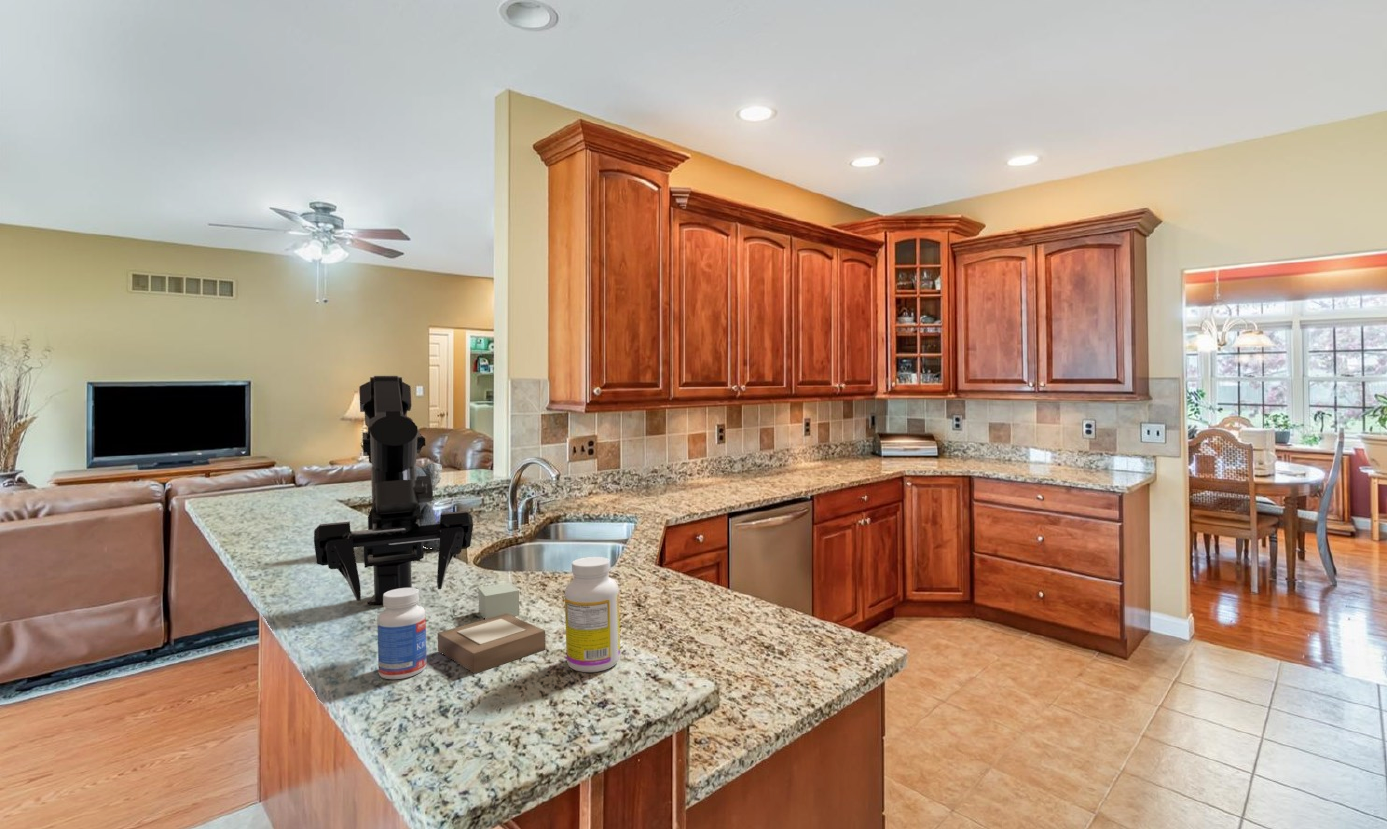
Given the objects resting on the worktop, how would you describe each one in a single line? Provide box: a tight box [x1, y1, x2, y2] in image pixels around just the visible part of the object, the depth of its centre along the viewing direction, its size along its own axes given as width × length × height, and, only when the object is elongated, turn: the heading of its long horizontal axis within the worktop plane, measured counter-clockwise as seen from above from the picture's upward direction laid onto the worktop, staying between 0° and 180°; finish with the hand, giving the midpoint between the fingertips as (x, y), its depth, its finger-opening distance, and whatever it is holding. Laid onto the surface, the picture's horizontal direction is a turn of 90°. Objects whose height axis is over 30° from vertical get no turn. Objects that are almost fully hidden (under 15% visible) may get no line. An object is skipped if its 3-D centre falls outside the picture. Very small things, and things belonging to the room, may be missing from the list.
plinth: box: [437, 614, 547, 674], centre depth 84 cm, size 10×10×3 cm
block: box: [477, 582, 520, 619], centre depth 98 cm, size 5×5×4 cm
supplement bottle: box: [564, 556, 621, 673], centre depth 79 cm, size 7×7×13 cm
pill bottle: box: [376, 587, 427, 680], centre depth 78 cm, size 6×5×10 cm
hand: (400, 593), depth 79 cm, fingers open, 9 cm apart
